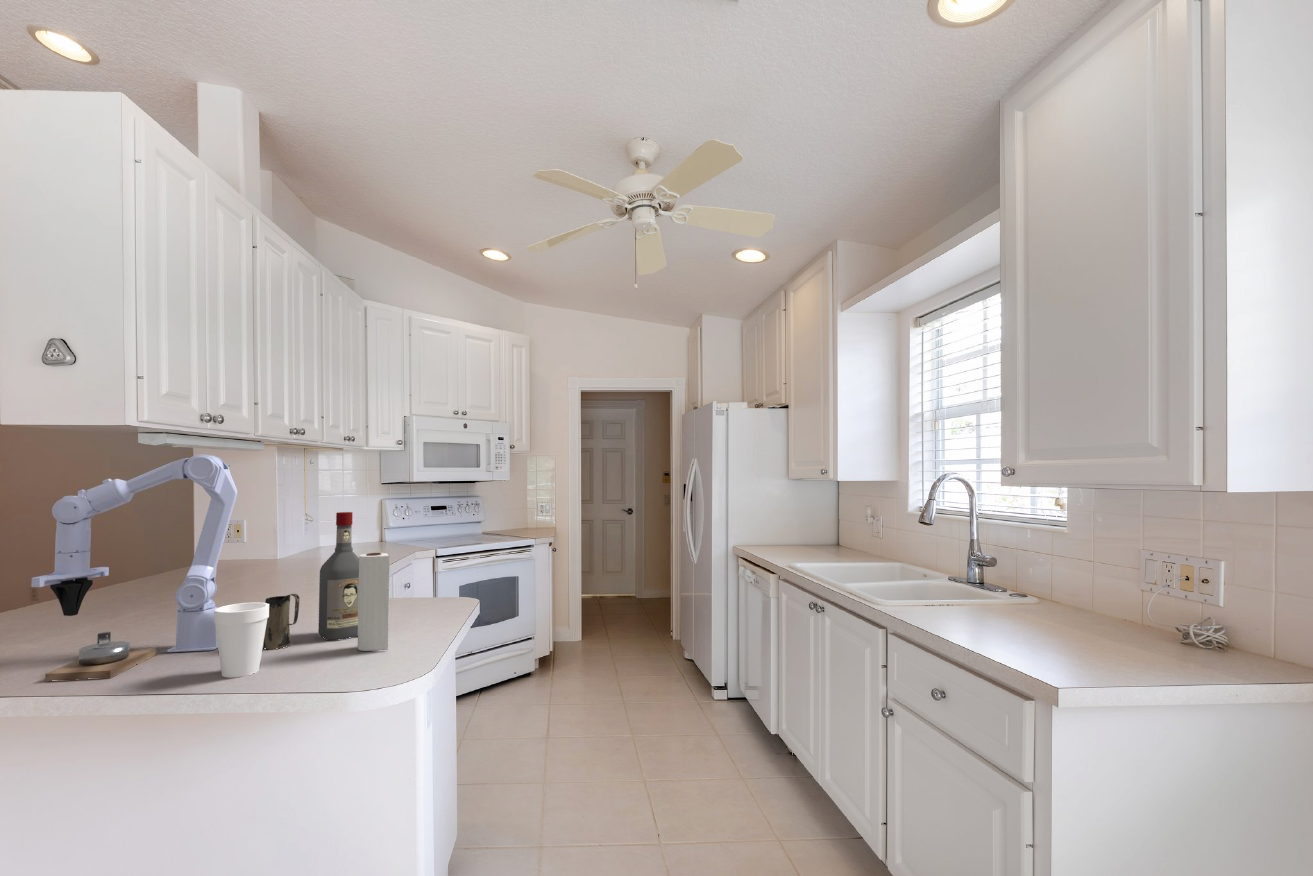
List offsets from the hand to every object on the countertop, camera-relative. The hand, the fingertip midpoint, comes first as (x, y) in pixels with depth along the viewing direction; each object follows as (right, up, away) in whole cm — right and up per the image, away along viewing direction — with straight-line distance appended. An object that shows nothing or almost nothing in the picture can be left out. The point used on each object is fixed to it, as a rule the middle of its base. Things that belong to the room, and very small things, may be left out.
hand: (70, 615), depth 141 cm
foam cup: (+42, -9, -9) cm, 45 cm away
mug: (+40, -10, +10) cm, 42 cm away
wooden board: (+12, -9, -6) cm, 17 cm away
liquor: (+49, -10, +19) cm, 54 cm away
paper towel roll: (+62, -10, +8) cm, 63 cm away
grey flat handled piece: (+10, -7, -3) cm, 13 cm away
